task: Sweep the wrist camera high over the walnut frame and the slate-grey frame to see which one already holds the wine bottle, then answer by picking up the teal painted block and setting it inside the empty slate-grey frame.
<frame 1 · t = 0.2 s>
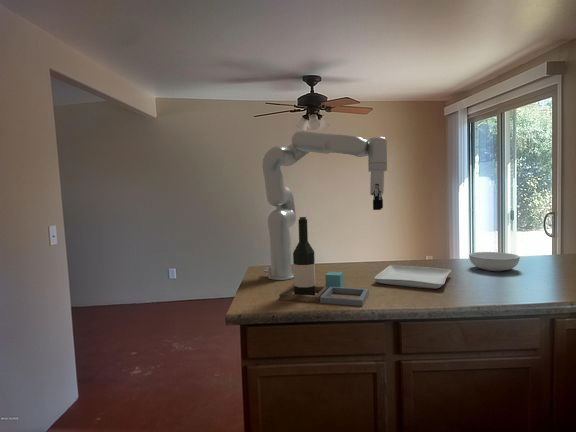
hand: (378, 209, 154), 31 cm above the table, tool pointing down, fingers open, 9 cm apart
walnut frame: (305, 295, 142), on the table
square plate: (413, 281, 159), on the table
serving bowl: (493, 269, 175), on the table
slate frame: (345, 298, 136), on the table
teal block: (334, 287, 151), on the table
wine bottle: (305, 295, 142), resting in walnut frame
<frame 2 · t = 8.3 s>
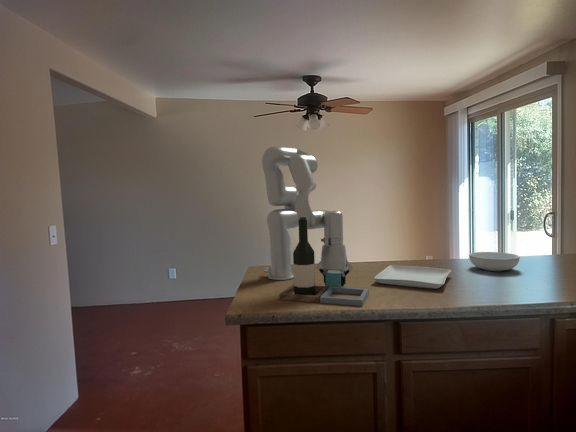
hand: (334, 284, 151), 1 cm above the table, tool pointing down, fingers closed on teal block, 6 cm apart
teal block: (334, 287, 151), on the table, touching gripper
everything else where it was.
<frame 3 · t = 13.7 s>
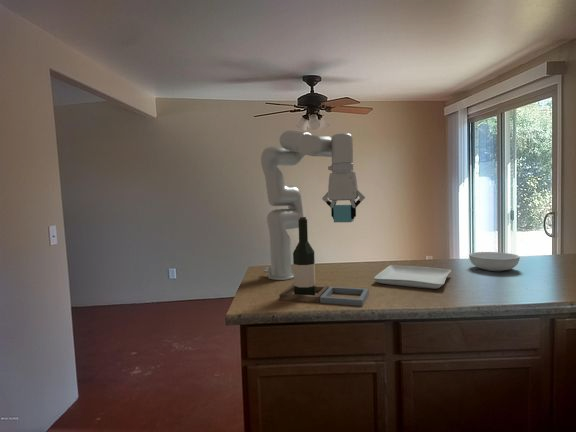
hand: (343, 218, 134), 29 cm above the table, tool pointing down, fingers closed on teal block, 6 cm apart
teal block: (343, 221, 134), point 28 cm above the table, touching gripper
everything else where it was.
when the fingers open (3 cm above the table, at t = 19.2 s): teal block drops 2 cm, resting in slate frame.
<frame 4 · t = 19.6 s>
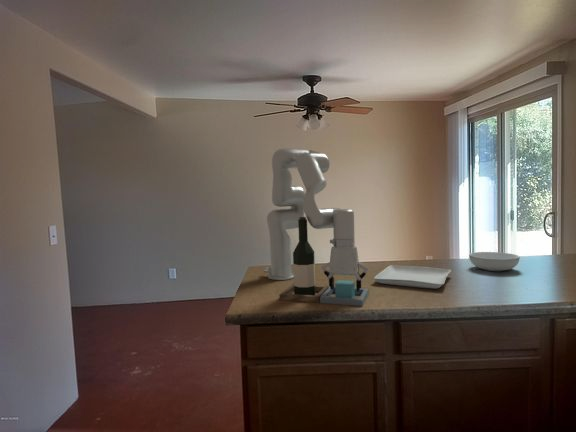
hand: (345, 289, 136), 3 cm above the table, tool pointing down, fingers open, 9 cm apart
teal block: (345, 298, 136), resting in slate frame
wine bottle: (305, 295, 142), resting in walnut frame, touching arm
everything else where it was.
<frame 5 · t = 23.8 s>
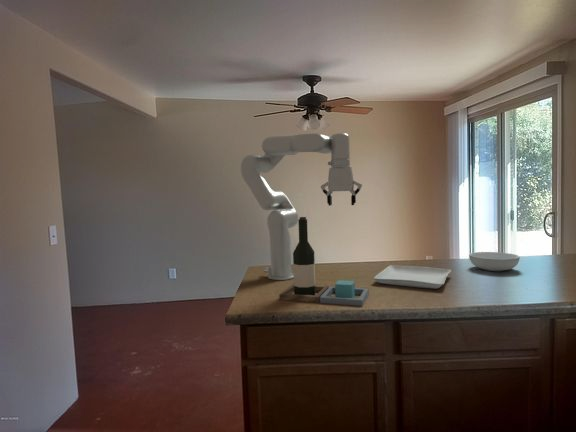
hand: (341, 205, 155), 33 cm above the table, tool pointing down, fingers open, 9 cm apart
wine bottle: (305, 295, 142), resting in walnut frame
everything else where it was.
at the end: teal block 0.0 cm off-centre on the slate frame, point 0.0 cm above the slate frame's base; the gripper is holding nothing; wine bottle 0.0 cm from the walnut frame (horizontally) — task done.
